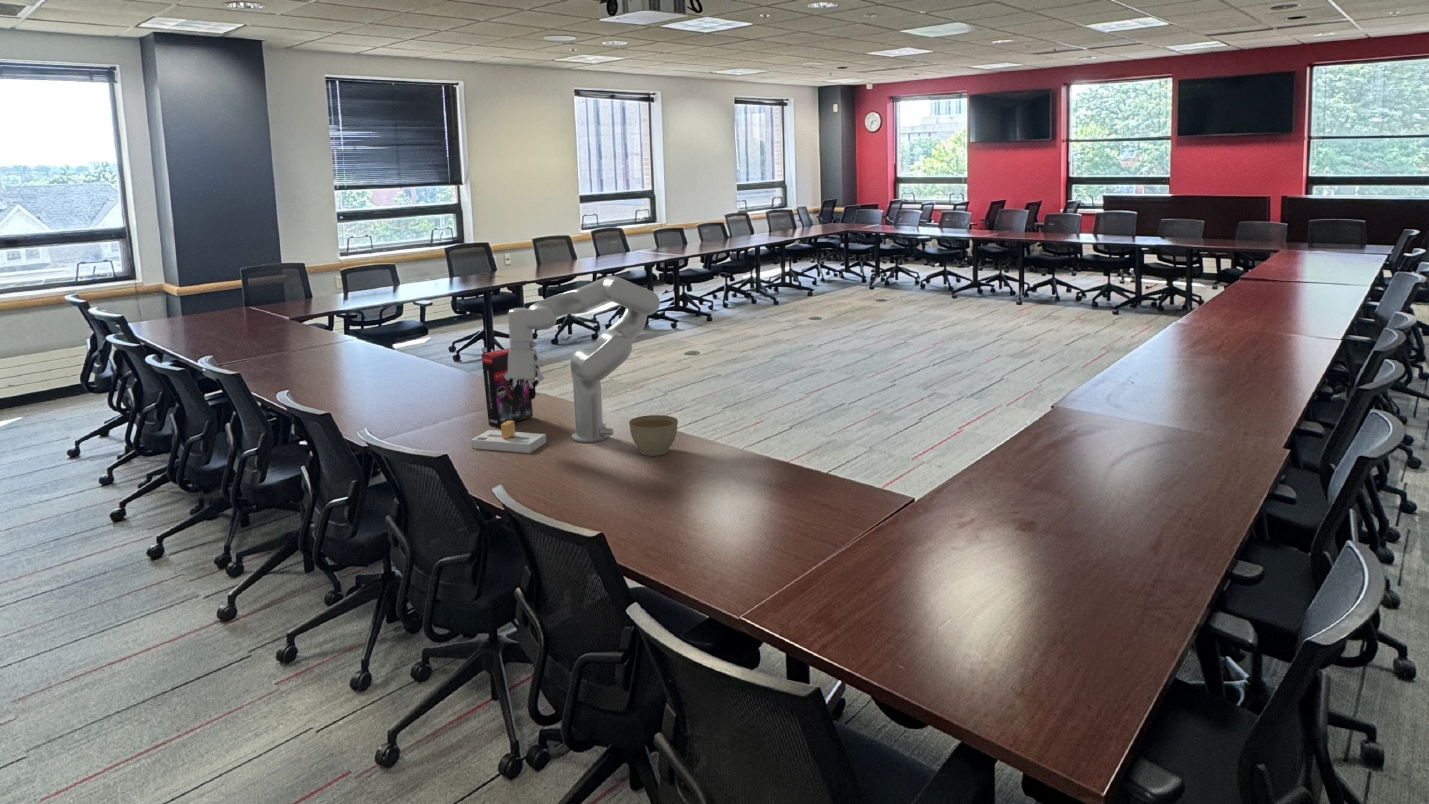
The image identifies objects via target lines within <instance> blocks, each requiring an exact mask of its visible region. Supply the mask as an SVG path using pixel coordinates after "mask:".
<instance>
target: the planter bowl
mask: <svg viewBox="0 0 1429 804" xmlns="http://www.w3.org/2000/svg"><path fill="white" fill-rule="evenodd" d="M678 422H679V420H678V419H677V418H676V417H674V416H671V415H663V414H653V415H652V414H649V415H642V416H636V417H635V418H632V419H630V420H629V421H628V425H629V431H630V435H631V438H632V440H633V442H634V444H635V445H636V446H637V448H638V449H639V453H640V454H642V455H644V456H649V457H650V456H651V457H654V456H656V457H657V456H662V455H666V454H668V453H669V451H670V448H671V447H672V445H673V443H674V441H675V439H676V436H677V433H678Z"/></svg>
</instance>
